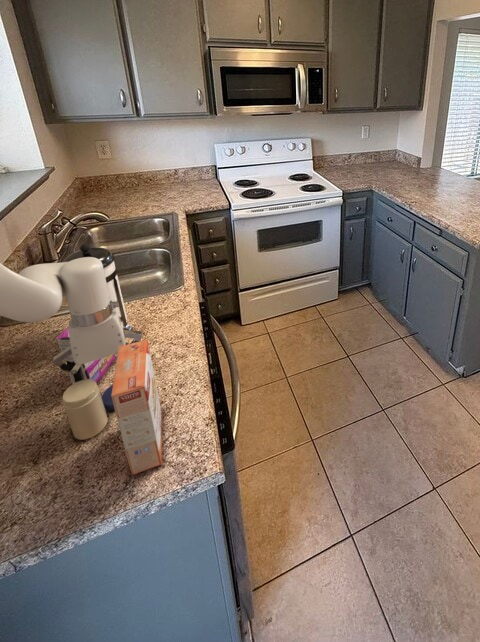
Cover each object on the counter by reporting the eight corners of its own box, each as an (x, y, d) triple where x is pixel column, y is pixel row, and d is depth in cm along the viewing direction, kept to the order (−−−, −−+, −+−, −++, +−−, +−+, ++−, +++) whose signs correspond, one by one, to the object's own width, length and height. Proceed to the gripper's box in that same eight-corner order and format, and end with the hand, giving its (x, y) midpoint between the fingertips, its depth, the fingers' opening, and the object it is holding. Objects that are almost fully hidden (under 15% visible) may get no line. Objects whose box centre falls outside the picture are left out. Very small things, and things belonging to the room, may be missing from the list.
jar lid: (141, 398, 87) (139, 392, 86) (107, 416, 82) (106, 410, 82) (131, 381, 92) (129, 375, 91) (99, 397, 87) (97, 392, 87)
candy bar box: (98, 358, 99) (84, 309, 94) (116, 358, 99) (103, 308, 94) (72, 391, 89) (54, 338, 83) (92, 391, 89) (75, 338, 83)
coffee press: (63, 351, 102) (33, 258, 91) (99, 316, 117) (77, 232, 106) (121, 354, 101) (97, 260, 90) (150, 318, 116) (133, 234, 105)
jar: (74, 445, 76) (61, 408, 72) (72, 423, 81) (60, 387, 77) (109, 428, 80) (99, 392, 76) (105, 408, 84) (95, 373, 81)
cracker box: (164, 464, 72) (146, 385, 65) (130, 477, 70) (108, 396, 62) (163, 409, 84) (148, 337, 77) (135, 418, 82) (116, 345, 75)
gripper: (134, 293, 85) (145, 351, 91) (44, 315, 76) (62, 378, 82) (137, 309, 79) (149, 370, 85) (40, 335, 70) (60, 401, 76)
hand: (106, 374), depth 84 cm, fingers open, 9 cm apart
